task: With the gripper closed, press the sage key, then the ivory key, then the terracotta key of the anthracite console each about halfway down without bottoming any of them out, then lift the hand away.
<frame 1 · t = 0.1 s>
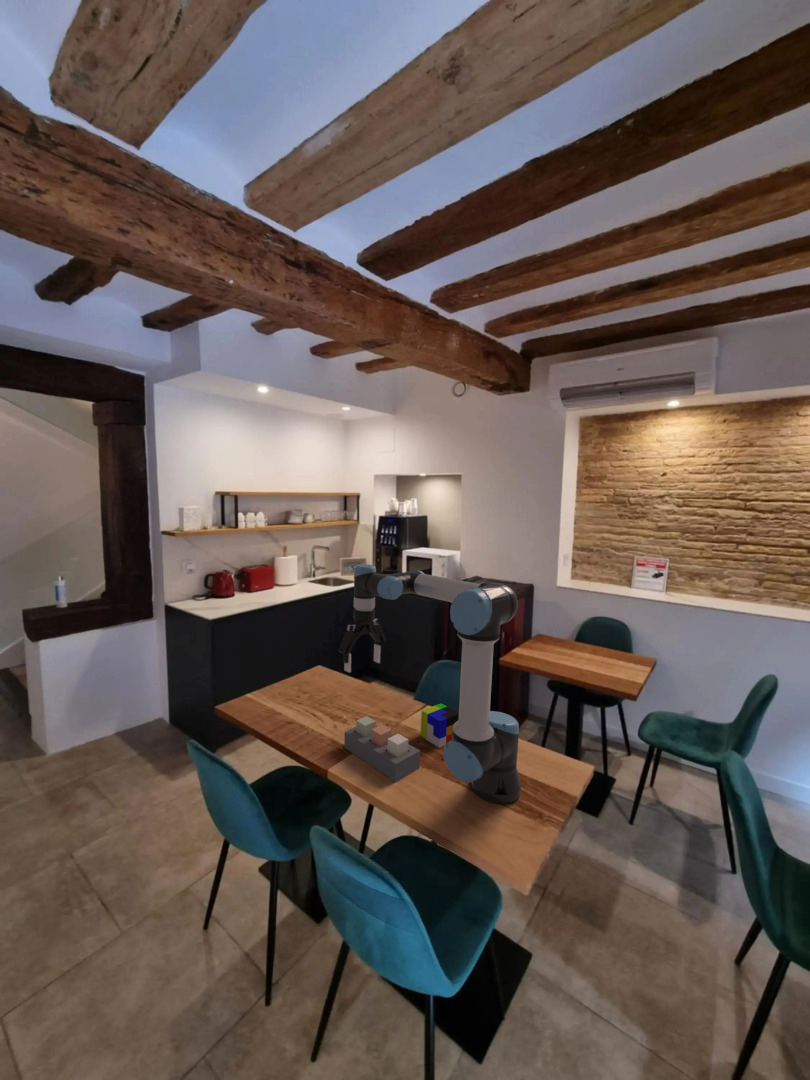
hand: (362, 666, 162), 28 cm above the table, fingers open, 13 cm apart
console: (380, 757, 155), on the table
key terracotta: (381, 740, 154), point 6 cm above the table, slide at 0.0 cm
key ivory: (397, 749, 148), point 6 cm above the table, slide at 0.0 cm
puzzle toy: (439, 738, 169), on the table
key sage: (365, 731, 160), point 6 cm above the table, slide at 0.0 cm
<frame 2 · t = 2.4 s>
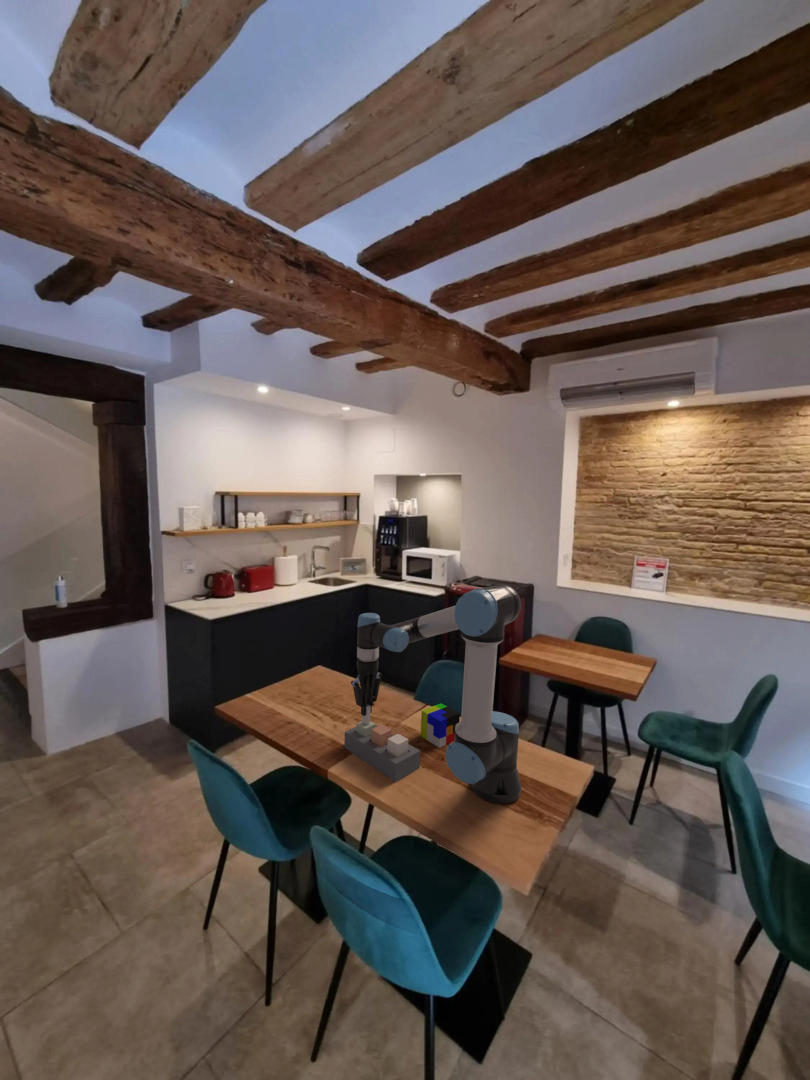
hand: (366, 722, 159), 9 cm above the table, fingers closed
key sage: (365, 733, 160), point 5 cm above the table, slide at -1.1 cm, touching gripper
everything else where it was.
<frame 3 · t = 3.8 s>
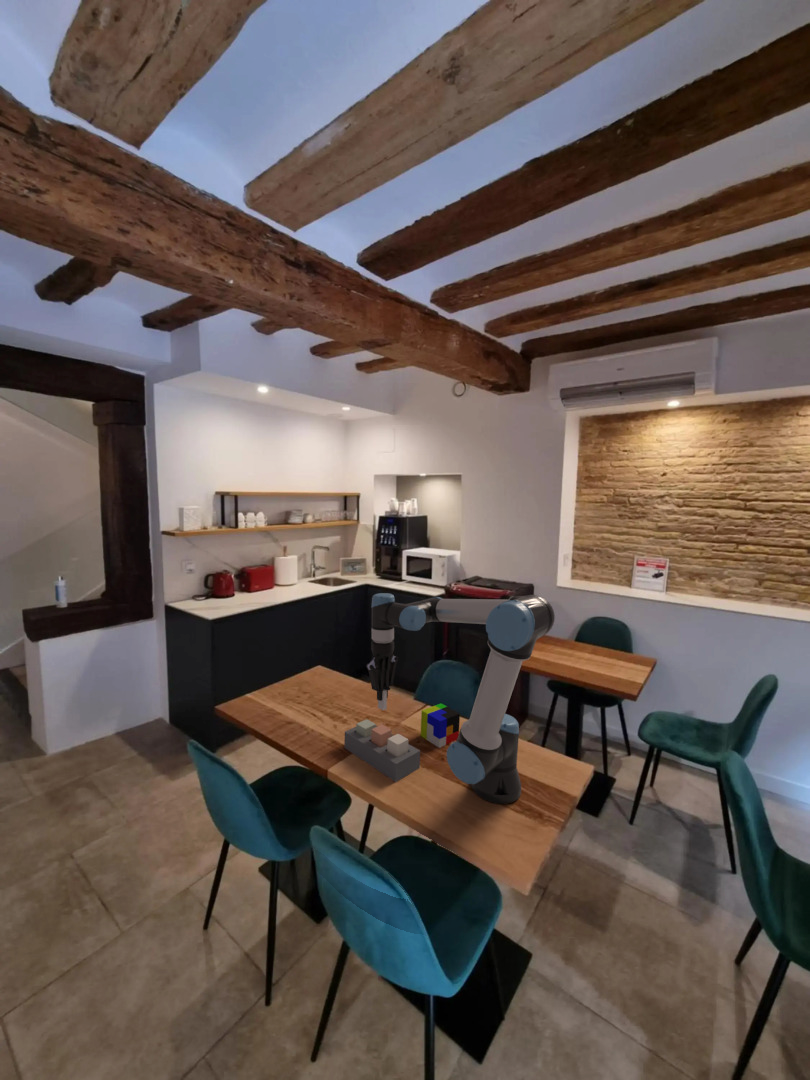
hand: (382, 708, 153), 17 cm above the table, fingers closed
key sage: (365, 734, 160), point 5 cm above the table, slide at -1.1 cm
everything else where it was.
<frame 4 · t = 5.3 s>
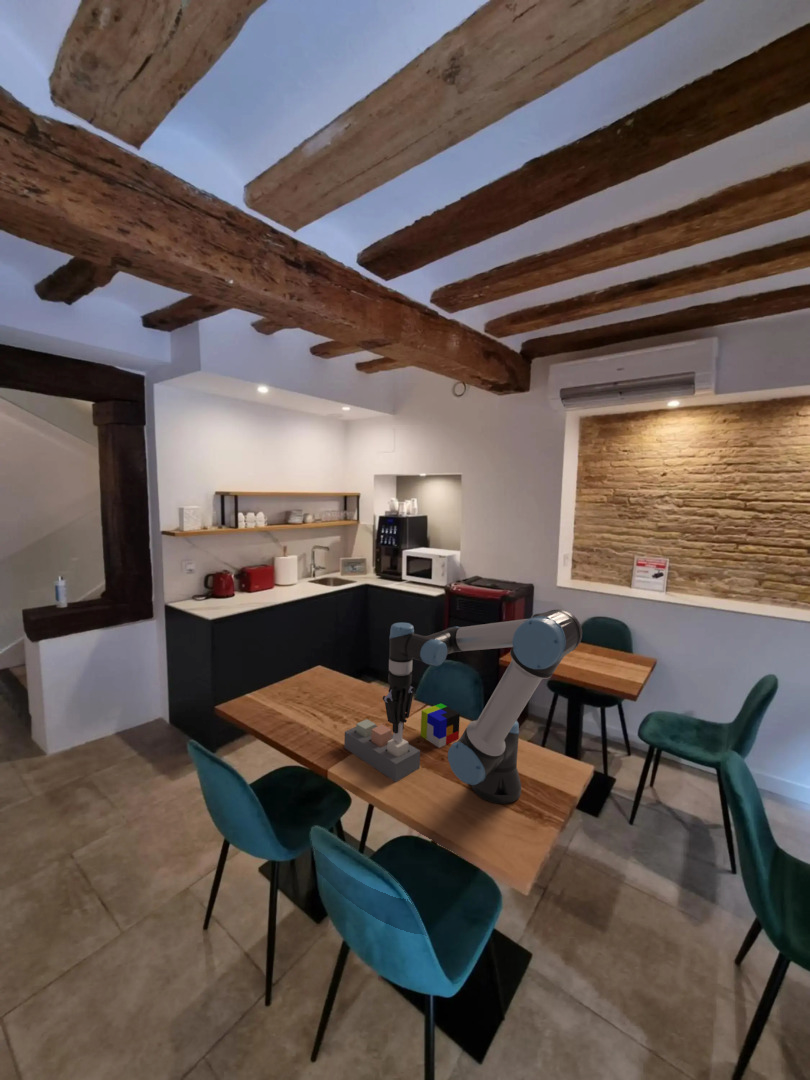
hand: (397, 740, 148), 9 cm above the table, fingers closed
key ivory: (397, 752, 148), point 5 cm above the table, slide at -0.9 cm, touching gripper
everything else where it was.
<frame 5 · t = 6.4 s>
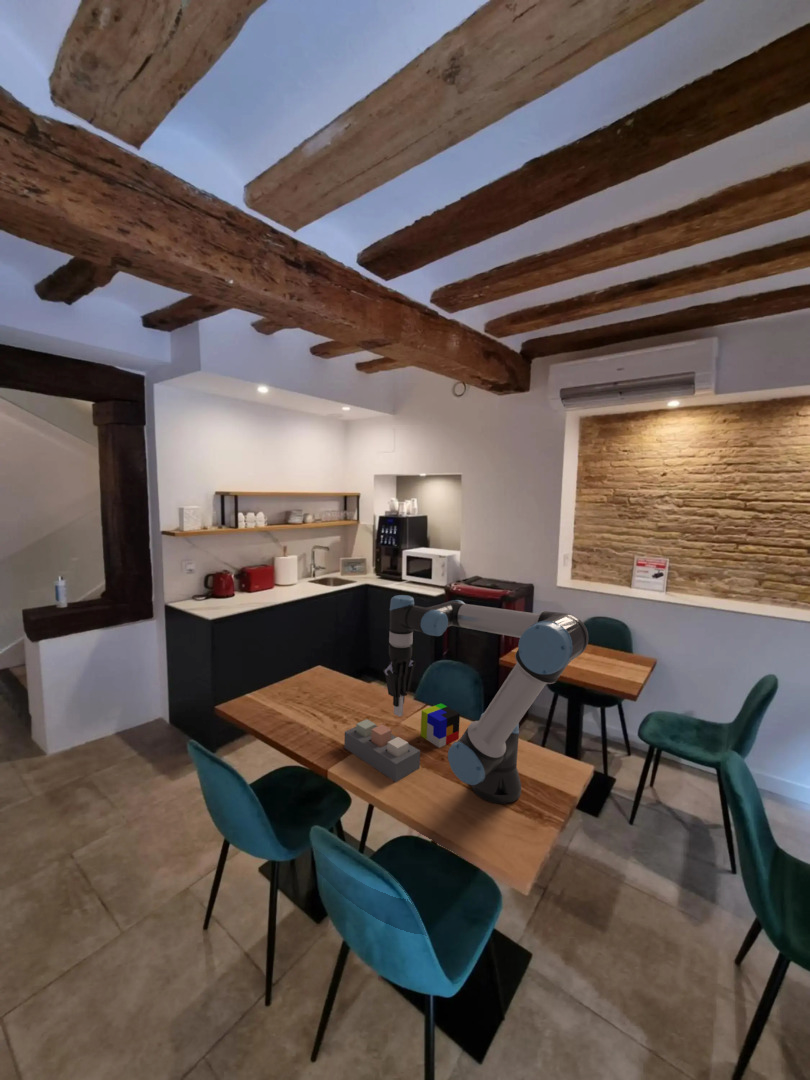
hand: (398, 714, 147), 18 cm above the table, fingers closed
key ivory: (397, 753, 148), point 5 cm above the table, slide at -1.1 cm
everything else where it was.
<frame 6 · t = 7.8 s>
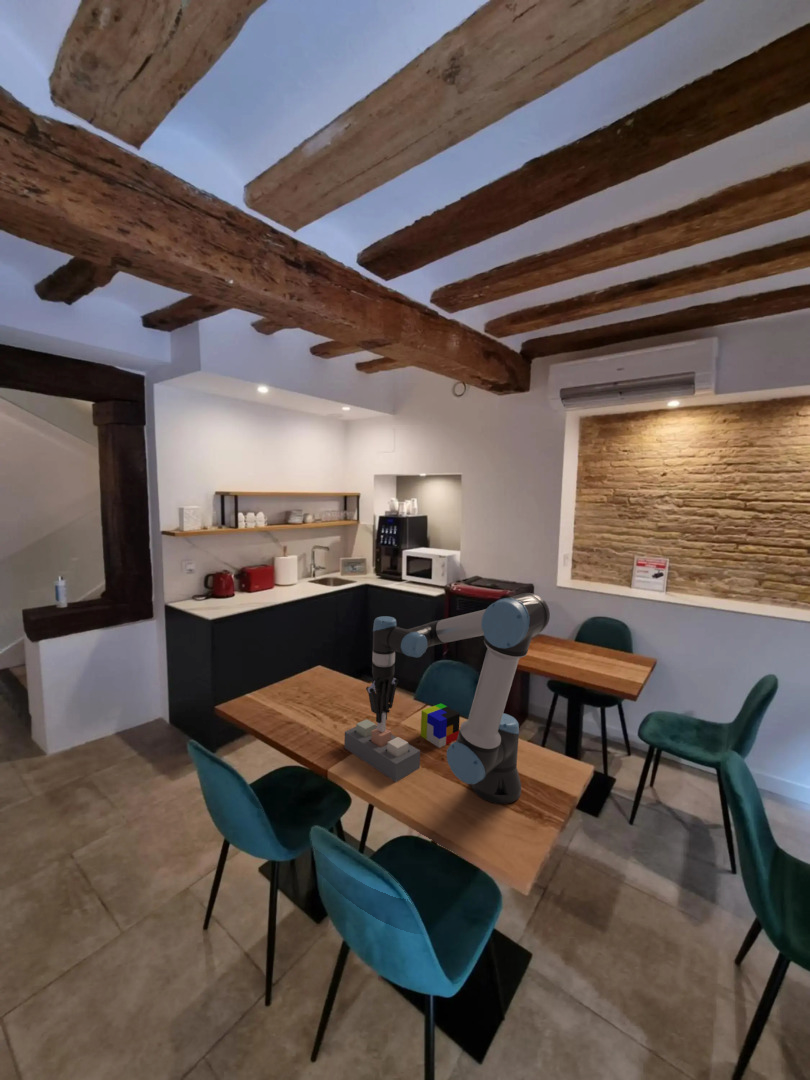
hand: (381, 730, 154), 10 cm above the table, fingers closed
key terracotta: (381, 741, 154), point 6 cm above the table, slide at -0.6 cm, touching gripper
everything else where it was.
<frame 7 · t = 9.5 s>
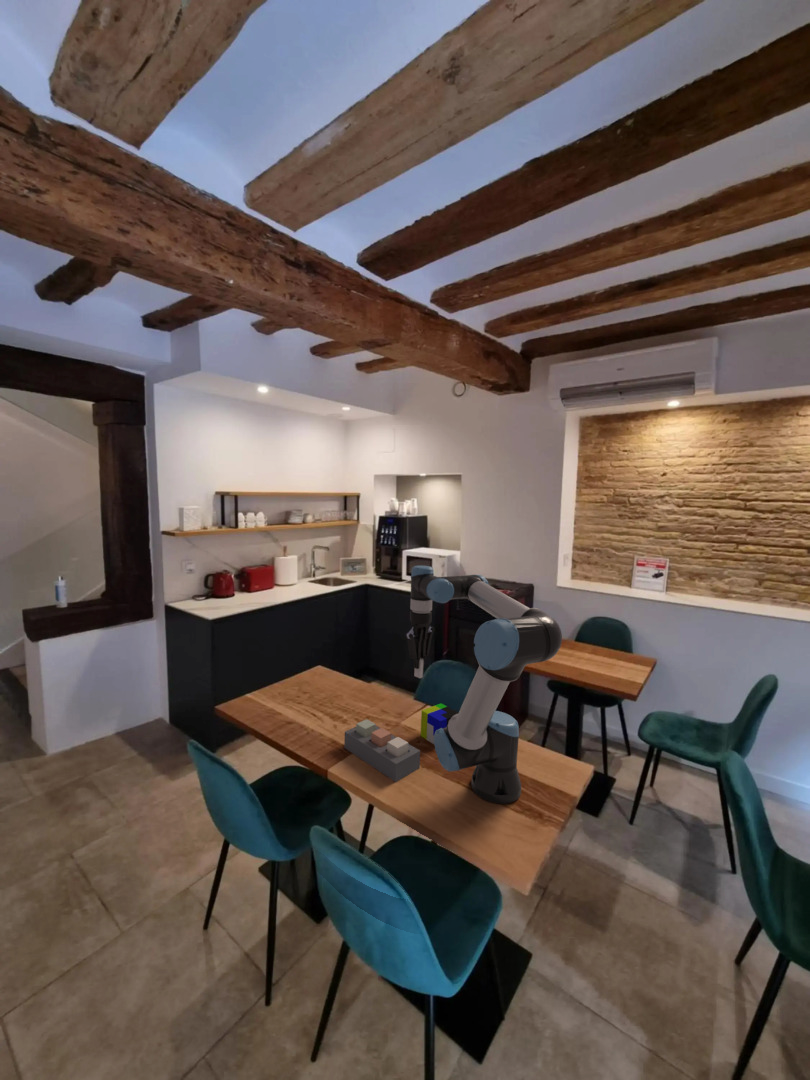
hand: (418, 676, 159), 26 cm above the table, fingers closed
key terracotta: (381, 743, 154), point 5 cm above the table, slide at -1.1 cm
everything else where it was.
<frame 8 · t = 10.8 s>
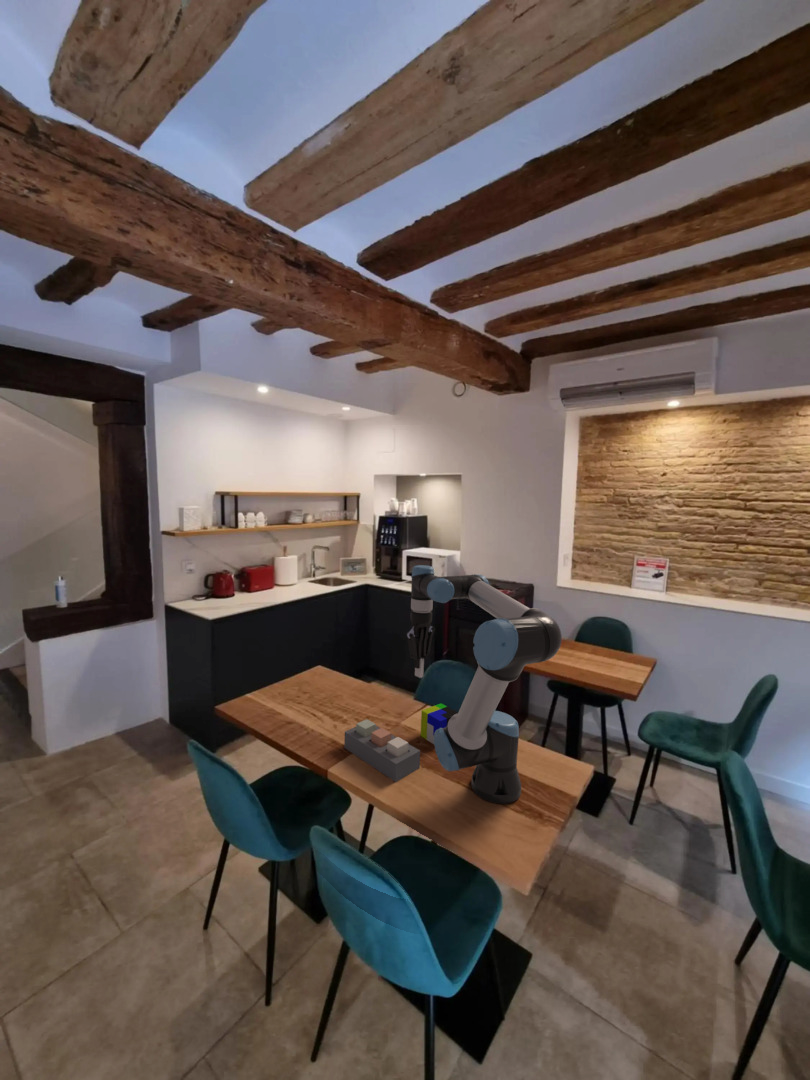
hand: (419, 676, 159), 26 cm above the table, fingers closed
nothing on the table moved.
at the end: key sage slide at -1.1 cm; key ivory slide at -1.1 cm; key terracotta slide at -1.1 cm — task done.
